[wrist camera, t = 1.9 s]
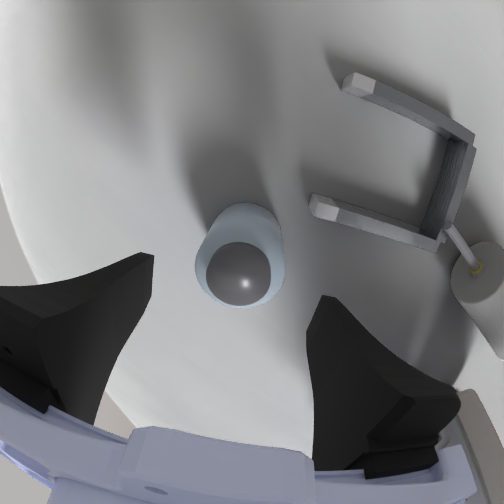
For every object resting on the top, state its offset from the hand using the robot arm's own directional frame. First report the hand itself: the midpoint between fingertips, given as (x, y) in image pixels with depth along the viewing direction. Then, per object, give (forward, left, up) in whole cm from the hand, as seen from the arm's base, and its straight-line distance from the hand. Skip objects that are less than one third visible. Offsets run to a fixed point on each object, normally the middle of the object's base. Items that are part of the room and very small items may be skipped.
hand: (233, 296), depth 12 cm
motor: (+9, -25, -7) cm, 27 cm away
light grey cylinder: (0, 0, -7) cm, 7 cm away
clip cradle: (+7, -8, -7) cm, 13 cm away
